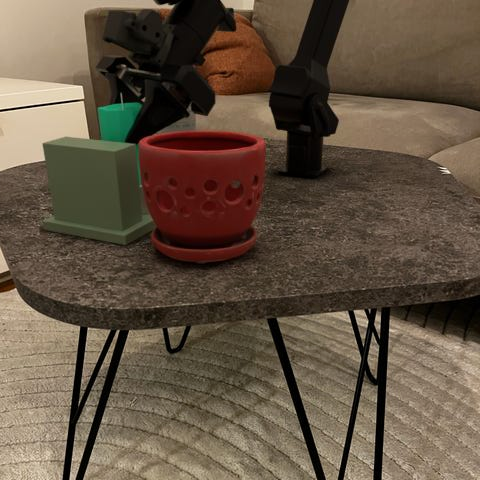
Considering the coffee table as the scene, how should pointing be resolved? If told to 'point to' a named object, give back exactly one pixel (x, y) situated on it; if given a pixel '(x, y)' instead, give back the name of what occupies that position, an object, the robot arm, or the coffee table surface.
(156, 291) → the coffee table surface
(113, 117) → the candle
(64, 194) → the green tombstone shape
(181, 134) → the flower pot
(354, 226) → the coffee table surface
